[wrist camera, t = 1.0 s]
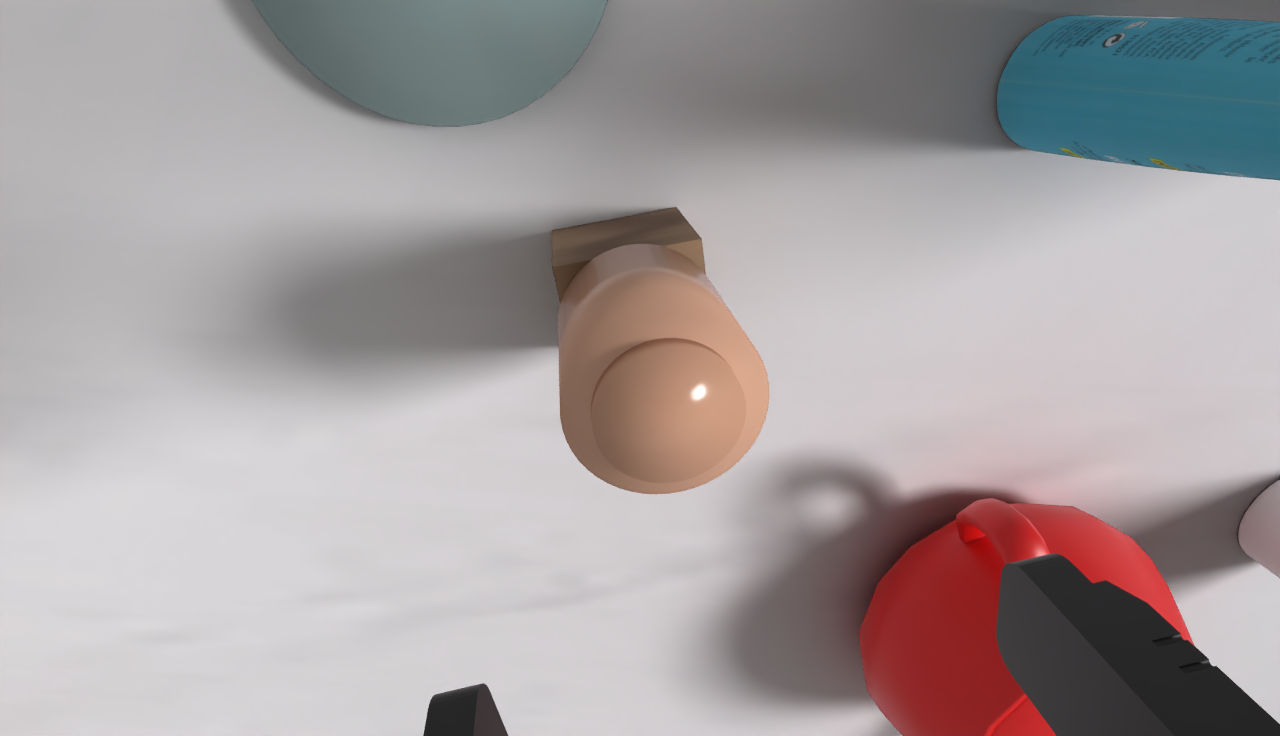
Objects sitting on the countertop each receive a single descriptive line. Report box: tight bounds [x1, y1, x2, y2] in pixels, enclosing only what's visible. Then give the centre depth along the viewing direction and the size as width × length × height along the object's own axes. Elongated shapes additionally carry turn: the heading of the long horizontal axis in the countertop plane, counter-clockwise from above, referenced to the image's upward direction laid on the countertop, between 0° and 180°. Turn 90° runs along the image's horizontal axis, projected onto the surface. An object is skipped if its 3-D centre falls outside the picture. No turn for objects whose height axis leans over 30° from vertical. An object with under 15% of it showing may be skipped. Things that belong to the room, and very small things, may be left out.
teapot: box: [859, 498, 1194, 736], centre depth 33 cm, size 25×16×12 cm, turn 25°
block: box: [552, 207, 706, 303], centre depth 25 cm, size 5×5×5 cm
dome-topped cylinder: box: [558, 244, 769, 494], centre depth 20 cm, size 6×6×7 cm
